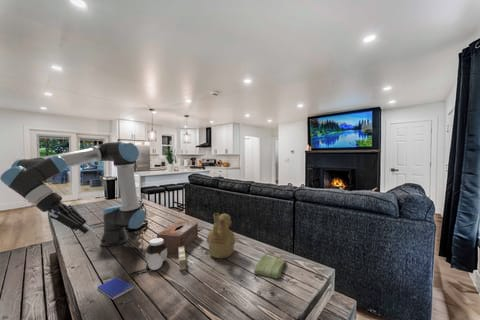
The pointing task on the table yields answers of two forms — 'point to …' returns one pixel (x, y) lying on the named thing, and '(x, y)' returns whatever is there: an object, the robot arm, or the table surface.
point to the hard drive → (115, 288)
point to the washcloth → (269, 266)
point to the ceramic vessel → (221, 237)
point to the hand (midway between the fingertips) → (94, 236)
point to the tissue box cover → (179, 235)
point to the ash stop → (181, 258)
